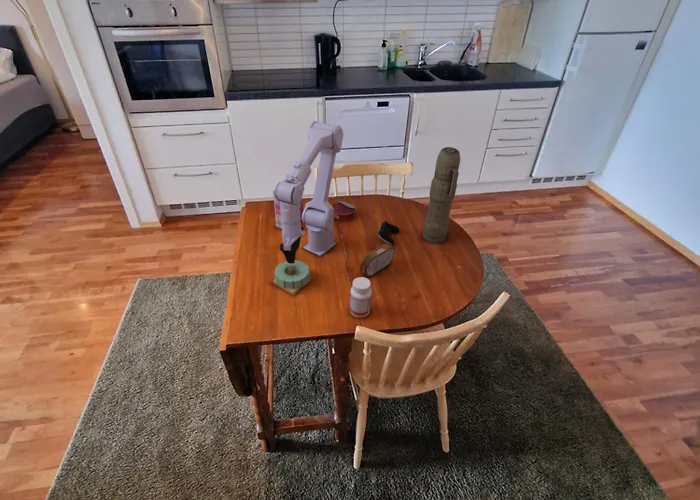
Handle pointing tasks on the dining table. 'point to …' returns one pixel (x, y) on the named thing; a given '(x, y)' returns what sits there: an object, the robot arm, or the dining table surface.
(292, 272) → the peg stand
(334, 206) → the canned food
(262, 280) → the dining table surface
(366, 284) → the pill bottle
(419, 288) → the dining table surface
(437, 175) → the thermos
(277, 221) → the candy bar box
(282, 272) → the ring
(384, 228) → the gaming controller
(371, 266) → the tin
